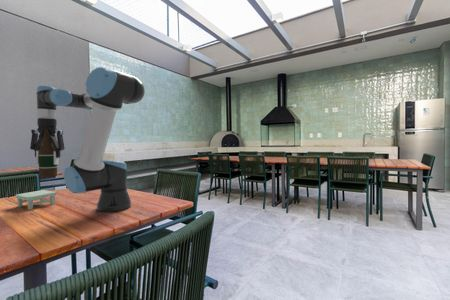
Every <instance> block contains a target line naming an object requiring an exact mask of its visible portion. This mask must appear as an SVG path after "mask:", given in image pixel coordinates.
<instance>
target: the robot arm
mask: <svg viewBox="0 0 450 300" xmlns="http://www.w3.org/2000/svg"><path fill="white" fill-rule="evenodd" d="M85 91H86V93H82V92H81V93H80V92H74V91H69V90H67V89H65V88H64V89H63V88H55V87H54V86H50V85H38V86H37V87H36V105H37V107H36V117H38V118H37V120H36V121H37V129H36V128H35V129H31V130H30V132H31V138H30V140H31V141H30V147H29V148H30V150H32V151H34V157H35V158H36V165H39V149H40V147H41V146H42V145H43V136H44V131H43V129H44V128H47V129H48V130H46V133H47V134H48V137H49V138H50V139H51V142H52V144H53V146H54V149H55V151H54V165H56V164H57V165H60V158H61V151H64V150H65V148H66V147H65V144H64V137H63V134H64V130H62V129H61V130H60V129H57V119H56V118H57V107H67V108H74V109H75V108H76V109H77V108H78V109H84V110H90V111H91V112H90V114H89V119H88V123H87V126H86V131H85V133H84V134H85V135H84V137H83V142H82V146H81V150H80V153H79V156H78V157H76V158H75V159H74V160H73V165H72V166H67V167H66V168H65V169H64V172H63V179H64V183H65V186H66V188H67V189H68V191H69V192H70V193H73V194H75V195H76V194H85V193H88V192H93V191H98V190H100V194H99V197H98V201H97V204H96V210H97V211H98V212H103V213H105V212H107V213H109V212H110V213H111V212H119V211H123V210H127V209H129V208H130V207H131V206H132V200H131V198H130V196H129V191H128V180H127V179H128V175H127V173H128V169H127V167H128V166H127V163H126V161H117V160H103V159H104V156H105V152H106V149H107V144H108V143H109V138H110V135H111V131H112V127H113V124H114V120H115V117H116V115H117V111H119V110H121V109H122V108H123V104H125V105H132V104H137V103H139V102H141V101H142V100H143V98H144V96H145V93H146V92H145V91H146V90H145V86H144V84H143V83H142V81H141V80H140V79H139V78H137V76H134V75H132V74H128V73H124V72H122V71H121V72H120V71H118V70H115V69H112V68H108V67H107V68H106V67H100V66H99V67H96V68H95V69H93V70H91V71H90V72H89V73H88V76H87V78H86V81H85Z"/></svg>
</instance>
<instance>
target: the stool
mask: <svg viewBox="0 0 450 300" xmlns="http://www.w3.org/2000/svg"><path fill="white" fill-rule="evenodd" d="M55 196H57V191H51V190H46V189H41V190H35V191H30V192H23V193H17V194H15V196H14V197H15V198H16V199H17V207H18V208H23V206H24V205H23V203H27V210H29V211H31V210H33V209H34V206H36V205H39V204H46V203H50V205H55V204H56V197H55ZM45 198H49V199H45ZM38 200H39V201H38ZM33 201H35V202H33Z"/></svg>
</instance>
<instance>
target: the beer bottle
mask: <svg viewBox="0 0 450 300" xmlns="http://www.w3.org/2000/svg"><path fill="white" fill-rule="evenodd" d="M46 130H48V129H47V128H44V129H43V131H44V136H43V144H42V146H41V147H40V149H39V164H38V176H39V177H40V178H52V177H57V176H58V164H56V165H54V151H55V149H54V146H53V144H52V142H51V139H50V138H49V137H48V134H47V133H46Z"/></svg>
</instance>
